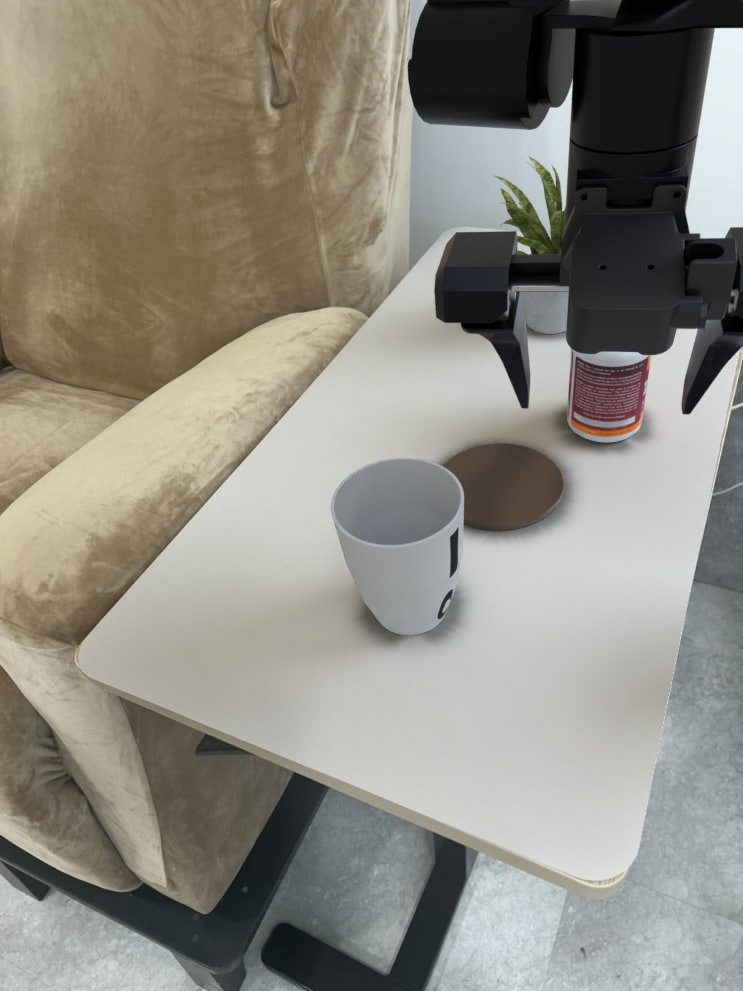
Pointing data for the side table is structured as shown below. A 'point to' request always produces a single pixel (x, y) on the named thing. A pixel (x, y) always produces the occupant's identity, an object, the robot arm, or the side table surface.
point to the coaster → (506, 485)
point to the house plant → (540, 248)
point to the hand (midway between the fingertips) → (603, 407)
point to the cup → (402, 539)
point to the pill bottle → (607, 394)
